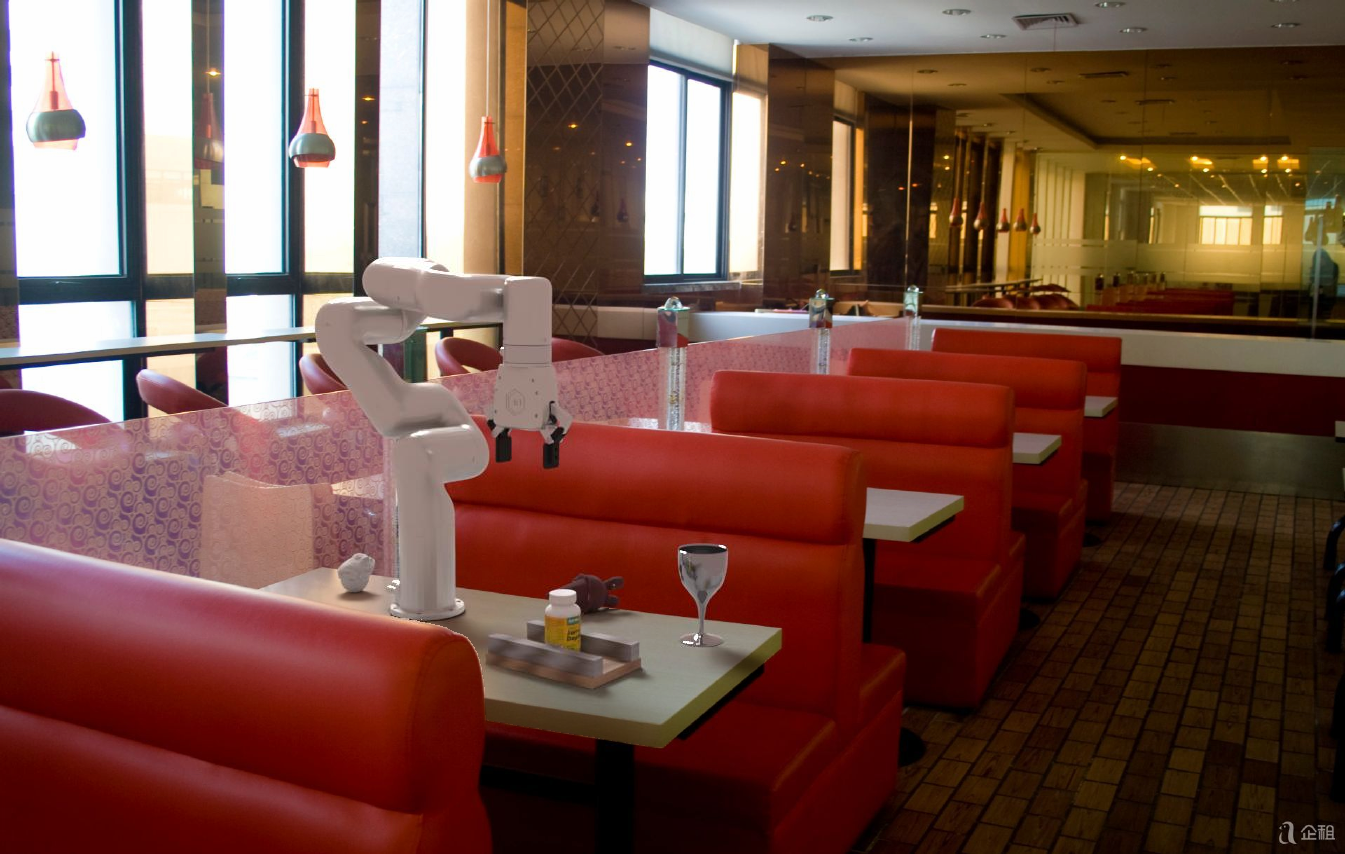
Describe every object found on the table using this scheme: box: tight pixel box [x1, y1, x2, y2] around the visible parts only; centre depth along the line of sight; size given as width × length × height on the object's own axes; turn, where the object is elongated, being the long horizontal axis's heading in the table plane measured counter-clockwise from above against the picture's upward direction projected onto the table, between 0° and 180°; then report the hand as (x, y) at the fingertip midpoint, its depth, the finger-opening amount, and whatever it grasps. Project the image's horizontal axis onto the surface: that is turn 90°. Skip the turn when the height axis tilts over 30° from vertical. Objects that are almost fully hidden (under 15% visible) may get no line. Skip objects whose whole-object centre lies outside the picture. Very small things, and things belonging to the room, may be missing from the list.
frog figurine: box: [337, 552, 376, 593], centre depth 219 cm, size 6×7×7 cm
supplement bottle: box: [544, 588, 582, 652], centre depth 179 cm, size 5×5×10 cm
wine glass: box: [677, 542, 729, 648], centre depth 192 cm, size 8×8×15 cm
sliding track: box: [485, 619, 642, 690], centre depth 179 cm, size 20×12×4 cm, turn 57°
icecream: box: [545, 573, 625, 615], centre depth 208 cm, size 7×7×15 cm
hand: (526, 464), depth 189 cm, fingers open, 9 cm apart
